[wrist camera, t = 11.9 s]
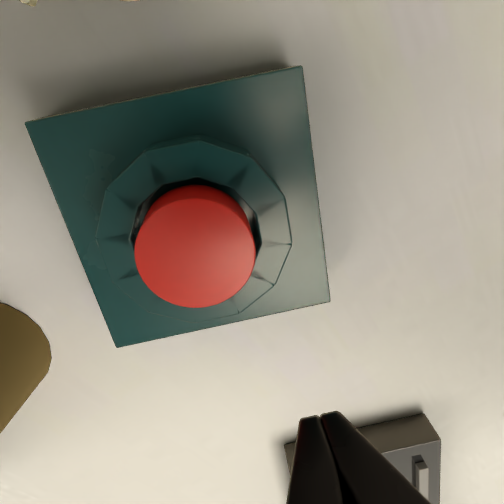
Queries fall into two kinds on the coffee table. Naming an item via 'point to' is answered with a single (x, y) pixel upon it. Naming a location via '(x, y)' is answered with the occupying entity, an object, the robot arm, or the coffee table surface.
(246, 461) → the coffee table surface
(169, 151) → the button block
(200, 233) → the button
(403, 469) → the slide rail base
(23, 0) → the pipe fitting
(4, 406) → the brown tapered upright piece
